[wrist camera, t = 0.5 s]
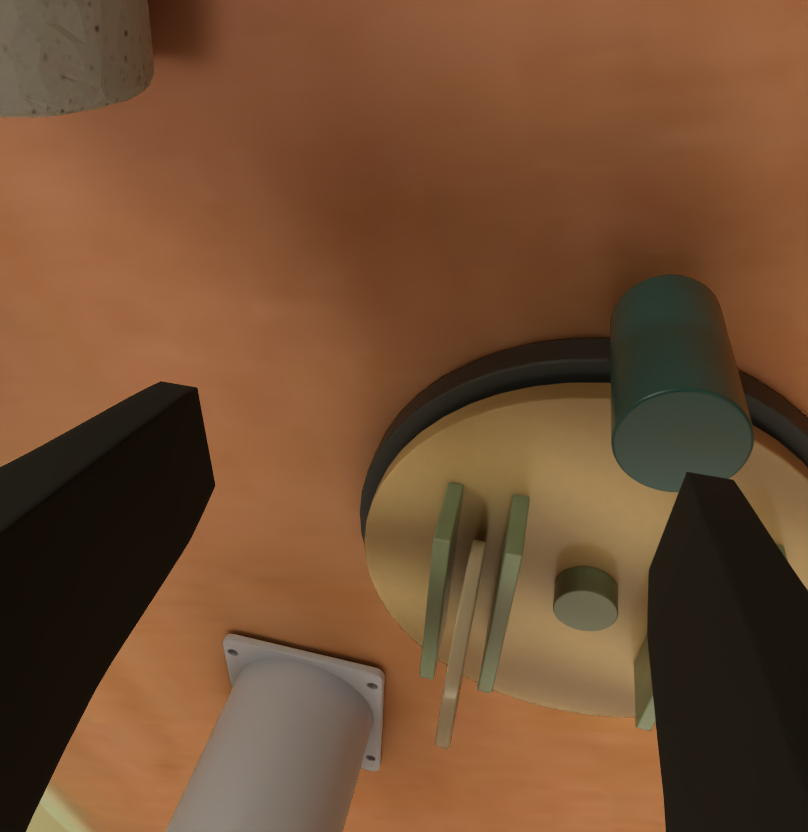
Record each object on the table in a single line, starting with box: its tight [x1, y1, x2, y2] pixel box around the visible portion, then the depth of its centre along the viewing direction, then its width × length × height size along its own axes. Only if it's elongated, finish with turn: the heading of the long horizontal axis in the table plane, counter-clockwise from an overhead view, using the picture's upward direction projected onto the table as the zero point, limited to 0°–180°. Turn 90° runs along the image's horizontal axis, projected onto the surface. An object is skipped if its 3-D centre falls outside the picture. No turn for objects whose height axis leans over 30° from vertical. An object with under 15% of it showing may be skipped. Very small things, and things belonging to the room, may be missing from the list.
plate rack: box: [364, 275, 808, 749], centre depth 19 cm, size 18×15×7 cm
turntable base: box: [360, 338, 808, 544], centre depth 24 cm, size 16×16×1 cm
